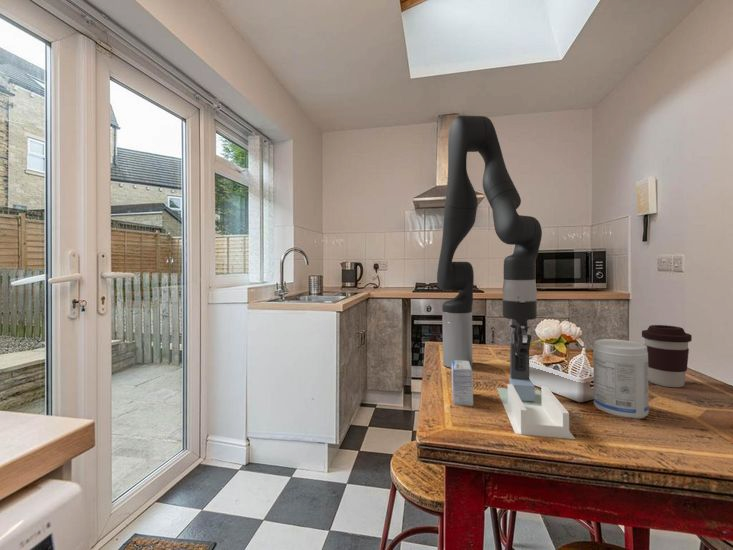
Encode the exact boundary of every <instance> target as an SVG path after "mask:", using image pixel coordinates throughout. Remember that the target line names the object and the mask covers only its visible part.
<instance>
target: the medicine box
mask: <svg viewBox="0 0 733 550" xmlns="http://www.w3.org/2000/svg"><path fill="white" fill-rule="evenodd" d="M450 369H451V395H452V401H453V402H452V403H453V405H455V406H456V405H457V406H474V382H473V380H474V377H473V375H474V374H473V373H474V372H473V369H472V367H471V365H470V362H469V361H460V360H456V361H452V363H451V368H450Z"/></svg>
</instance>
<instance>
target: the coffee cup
mask: <svg viewBox="0 0 733 550" xmlns="http://www.w3.org/2000/svg"><path fill="white" fill-rule="evenodd" d="M641 337H642V338H644V343H643V344H644V345H646V346H647V352H648V382H650V383H652V384H655V385H657V386H662V387H667V388H683V387H684V386H685V382H686V373H687V371H688V363H689V362H688V361H689V352H690V349H689V343H691V342H692V337H693V335H692V334H690V333H687V332H686V331H685V329H684V328H683V327H680V326H675V325H667V324H652V325H649V326H648V327H647V329H644V330H642V331H641Z"/></svg>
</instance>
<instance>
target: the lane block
mask: <svg viewBox="0 0 733 550" xmlns="http://www.w3.org/2000/svg"><path fill="white" fill-rule="evenodd" d="M509 345H510V346H509V350H510V351H509V352H510V353H509V362H510V363H509V369H510V371H509V373H510V374H509V383H508V384H512V385H513V386H514V388H515V390H516V392H517V394H518V395H519V397H520V399H521V401H535V390H536V388H535V387H536V386H535V385H534V383H533V381H532V380H531V379H530V354H529V355H527V356H526V371H524V372H520V371H516V369H515V346H514V345H513V342H511V341H510V342H509ZM520 350H524V348H521V349H520Z"/></svg>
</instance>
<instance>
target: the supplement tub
mask: <svg viewBox="0 0 733 550" xmlns="http://www.w3.org/2000/svg"><path fill="white" fill-rule="evenodd" d="M644 344H645V343H642V342H637V341H632V340H624V339H615V338H614V339H612V338H610V339H609V338H607V339H606V338H605V339H604V338H603V339H597V340H595V341H593V348H592V349H593V351H592V354H593V356H592V359H593V405H594V406H595V408H596V409H599V410H600V411H601V412H602V411H603V412H605V413H608V414H610V415H614V416H618V417H623V418H631V419H632V418H634V419H637V420H640V419H644V418H646V417H647V416H648V415H649V380H648V352H647V346H646V345H644Z"/></svg>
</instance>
